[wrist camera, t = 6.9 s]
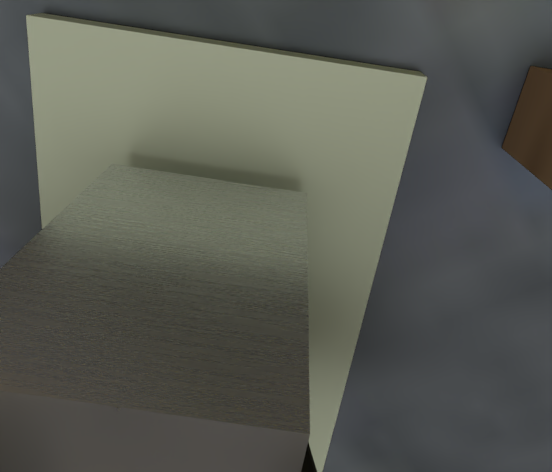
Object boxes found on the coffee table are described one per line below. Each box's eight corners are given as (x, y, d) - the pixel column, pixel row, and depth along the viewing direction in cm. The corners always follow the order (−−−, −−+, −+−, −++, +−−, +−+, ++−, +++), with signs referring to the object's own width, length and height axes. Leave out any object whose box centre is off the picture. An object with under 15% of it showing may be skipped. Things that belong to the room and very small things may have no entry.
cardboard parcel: (778, 104, 12) (914, 139, 9) (523, 544, 20) (557, 633, 17) (530, 65, 12) (596, 90, 9) (369, 523, 20) (380, 609, 17)
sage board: (419, 71, 12) (427, 77, 11) (307, 506, 19) (307, 526, 19) (42, 13, 12) (26, 15, 11) (70, 473, 19) (61, 492, 18)
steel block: (306, 193, 12) (309, 434, 5) (254, 484, 16) (223, 799, 10) (111, 164, 12) (-112, 374, 5) (112, 464, 16) (-9, 770, 10)
